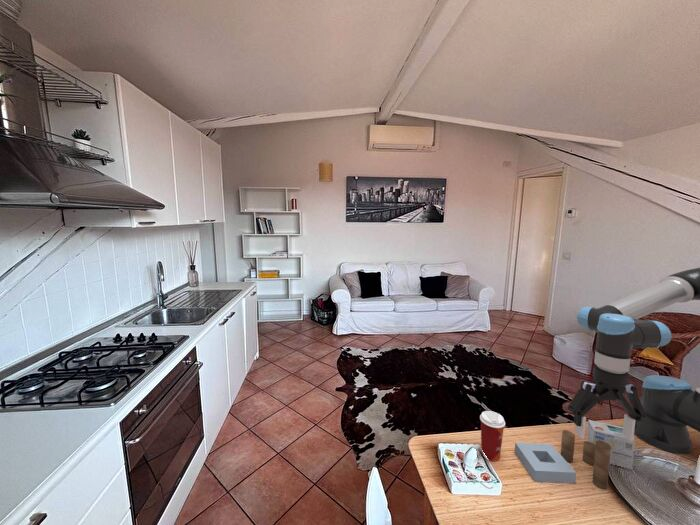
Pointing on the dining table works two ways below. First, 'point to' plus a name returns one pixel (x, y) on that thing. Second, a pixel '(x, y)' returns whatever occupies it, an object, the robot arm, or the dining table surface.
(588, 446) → the short walnut dowel
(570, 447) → the medium walnut dowel
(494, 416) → the paper cup
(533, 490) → the dining table surface
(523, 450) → the drilled block
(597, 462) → the tall walnut dowel
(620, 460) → the light bulb box
